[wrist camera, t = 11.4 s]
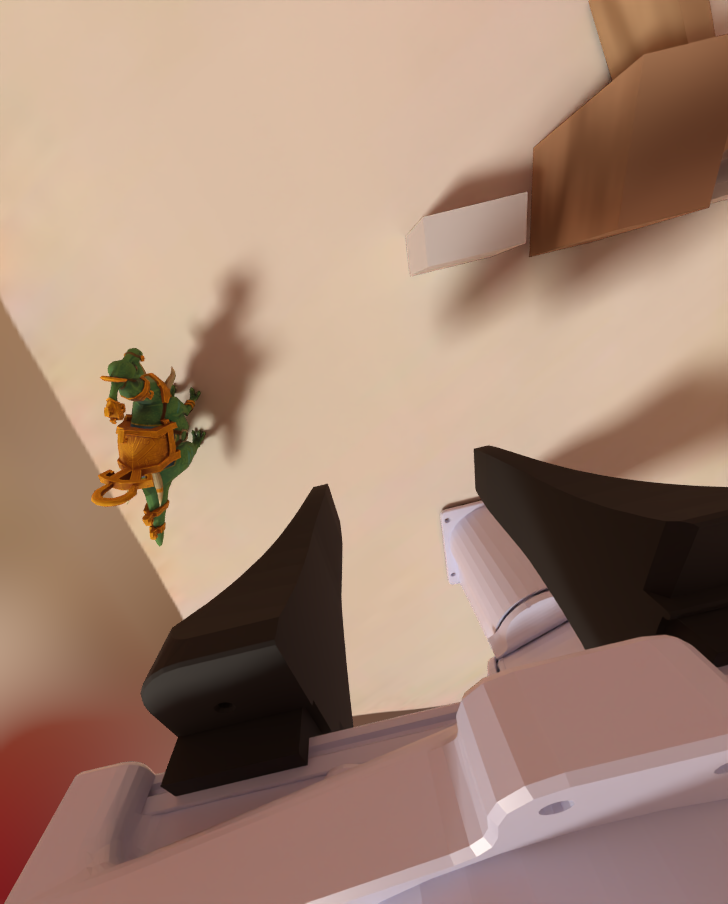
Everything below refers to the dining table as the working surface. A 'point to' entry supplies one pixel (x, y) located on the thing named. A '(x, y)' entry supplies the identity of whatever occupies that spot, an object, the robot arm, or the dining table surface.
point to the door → (648, 28)
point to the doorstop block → (634, 149)
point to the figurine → (147, 438)
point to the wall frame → (486, 230)
